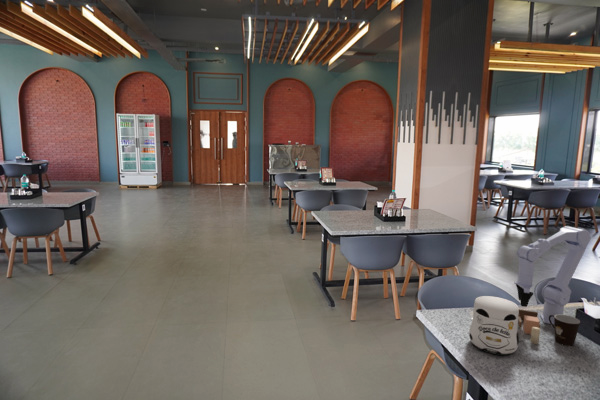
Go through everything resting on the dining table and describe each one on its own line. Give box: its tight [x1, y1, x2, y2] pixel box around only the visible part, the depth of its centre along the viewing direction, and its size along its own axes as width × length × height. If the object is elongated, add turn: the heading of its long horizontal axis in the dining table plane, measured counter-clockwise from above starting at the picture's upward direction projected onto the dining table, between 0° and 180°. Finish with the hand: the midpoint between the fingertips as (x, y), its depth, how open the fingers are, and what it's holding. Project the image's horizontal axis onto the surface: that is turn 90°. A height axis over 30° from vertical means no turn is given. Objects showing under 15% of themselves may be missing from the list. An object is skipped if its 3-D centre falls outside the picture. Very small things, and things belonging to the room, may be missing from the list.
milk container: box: [468, 295, 520, 356], centre depth 150 cm, size 17×17×18 cm
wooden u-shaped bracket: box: [517, 308, 541, 329], centre depth 172 cm, size 9×8×5 cm
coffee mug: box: [549, 314, 581, 347], centre depth 157 cm, size 12×9×10 cm
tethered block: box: [522, 315, 541, 345], centre depth 161 cm, size 14×5×6 cm, turn 157°
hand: (522, 303), depth 171 cm, fingers open, 7 cm apart
